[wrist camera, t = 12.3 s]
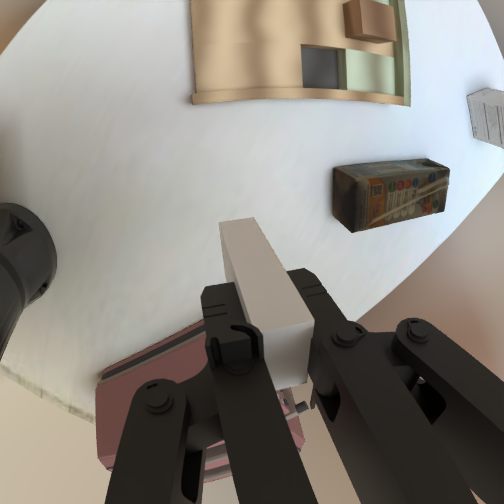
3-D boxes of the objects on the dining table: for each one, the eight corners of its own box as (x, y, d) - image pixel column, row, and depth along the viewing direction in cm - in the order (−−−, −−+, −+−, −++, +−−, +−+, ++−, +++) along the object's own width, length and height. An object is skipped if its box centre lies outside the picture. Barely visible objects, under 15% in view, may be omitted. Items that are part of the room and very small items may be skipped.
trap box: (192, 104, 31) (193, 104, 27) (184, -47, 20) (185, -63, 16) (390, 103, 35) (410, 106, 31) (380, -24, 24) (398, -31, 20)
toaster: (293, 354, 56) (331, 441, 38) (157, 414, 57) (163, 494, 40) (249, 292, 46) (291, 403, 28) (95, 371, 47) (85, 466, 30)
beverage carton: (423, 200, 45) (448, 215, 39) (329, 218, 43) (351, 238, 37) (426, 157, 41) (454, 168, 35) (329, 166, 38) (353, 179, 33)
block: (345, 37, 27) (363, 33, 24) (342, 4, 25) (359, -4, 21) (377, 43, 28) (396, 41, 25) (374, 11, 26) (393, 6, 22)
